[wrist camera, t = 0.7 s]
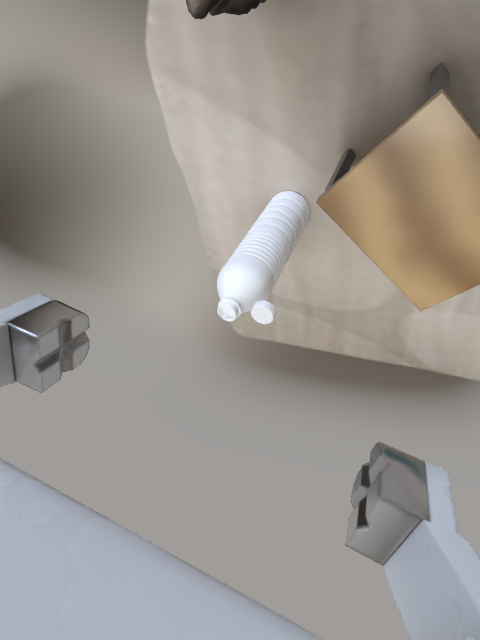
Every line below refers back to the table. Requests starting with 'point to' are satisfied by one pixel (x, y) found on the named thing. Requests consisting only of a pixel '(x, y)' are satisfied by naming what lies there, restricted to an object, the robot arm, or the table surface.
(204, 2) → the owl
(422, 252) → the desk
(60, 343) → the robot arm
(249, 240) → the water bottle
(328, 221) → the table surface
